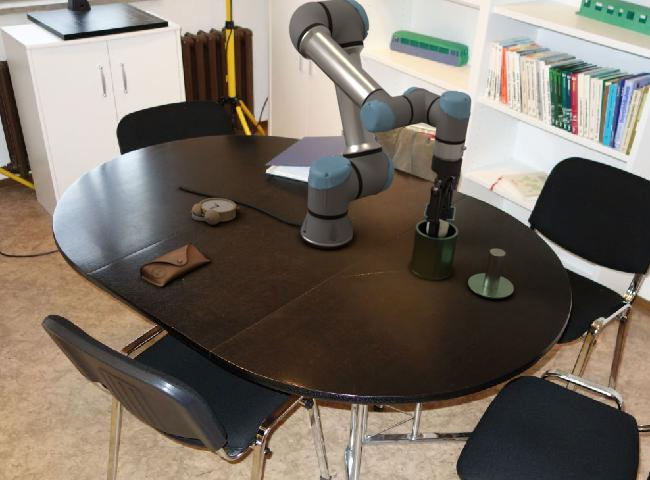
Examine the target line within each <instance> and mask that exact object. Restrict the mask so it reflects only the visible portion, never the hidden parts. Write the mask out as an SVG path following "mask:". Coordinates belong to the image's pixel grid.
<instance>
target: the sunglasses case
mask: <svg viewBox="0 0 650 480" xmlns="http://www.w3.org/2000/svg"><path fill="white" fill-rule="evenodd" d="M209 262H211V260H210V259H208V258H207V257H205V255H204V254H203V253H201V252H200V251H199V249H197V248H196V246H194V244H193V243H192V242H189V243H188V244H186V245H184V246H181V247H179V248H177V249H174V250H172V251H170V252H168V253H166V254H164V255H162V256H159V257H158V258H156V259H154V260H152V261H149V262H146V263H144V264H143V265H142V266H140V268H139V275H140V277H141V278H142V279H143V280H145V281H146V282H148V283H150V284H152V285H154V286H157V287H165V285H167V284H169V283H170V282H172V281H174V280H176V279H178V278H180V277H182V276H184V275H186V274H187V273H190V272H192V271H194V270H197V269H198V268H200V267H202V266H204V265H206V264H208V263H209Z"/></svg>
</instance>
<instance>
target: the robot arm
mask: <svg viewBox="0 0 650 480" xmlns="http://www.w3.org/2000/svg"><path fill="white" fill-rule="evenodd" d="M369 21H370V20H369V17H368V14H367V11H366V9H365V8H364V7H363V5H362V4H360V3H359V2H358V1H357V0H319V1H308V2H305V3H303V4H301V5H300V6H298V7H297V8H296V9H295V11H294V12H293V13H292V14H291V17H290V19H289V23H288V35H289V38H290V42H291V44H292V45H293V48H294V49H295V50H296V52H297V53H299V55H300V56H301V57H302V58H303V59H304V60H308V61H312V62H313V63H314V64H315V66H317V68H319V69H320V71H322V72H323V74H325V75H326V77H327V78H328V79H329V80H330V81H332V82H333V85H334V89H335V90H334V91H335V95H336V100H337V101H336V102H337V106H338V111H339V116H340V122H341V128H342V131H343V132H342V133H343V136H344V142H345V148H344V150H343V151H342V154H341V155H342V156H341V155H333V156H332V155H326V156H322V157H319V158H317V159H315V160H314V161H313V162H312V163H311V164H310V166H309V170H308V177H307V183H308V186H307V190H308V191H307V213H306V216H305V218H304V220H303V222H302V223H301V222H298V221H291V220H288V219H285V218H284V217H281V216H280V215H277V214H275V213H274V212H271V211H269V210H267V209H264V208H263V207H260V206H257V205H255V204H252V203H249V202H247V201H243V200H239V199H236V198H233V197H232V198H231V197H228V196H222V195H218V194H214V193H209V192H204V191H199V190H196V189H192V188H189V187H186V186H182V185H179V186H178V189H180V190H182V191H187V192H189V193H193V194H197V195H201V196H205V197H208V198H209V197H210V198H222V199H227V200H231V201H233V202H234V203H235V204H240V205H244V206H247V207H250V208H252V209H255V210H258V211H260V212H261V213H264V214H266V215H268V216H271V217H273V218H274V219H276V220H279V221H281V222H283V223H285V224H288V225H293V226H297V227H301V228H300V240H301V241H302V242H303V243H304V244H305V245H307V246H309V247H310V248H313V249H318V250H325V251H326V250H327V251H328V250H329V251H330V250H331V251H332V250H338V249H339V250H340V249H342V248H345V247H347V246H349V245H350V244H351V243H352V242H353V237H354V235H353V234H354V231H353V228H352V226H353V221H354V220H352V219H350V217H349V203H350V202H353V201H357V200H361V199H363V198H367V197H370V196H376V195H378V194H380V193H383V192H385V191H387V190H388V189H389V188H390V187H391V185H392V183H393V181H394V178H395V164H394V161H393V159H392V157H391V156H390V154H389V153H387V152H386V151H383V146H382V144H380V143H379V142H377V141H376V136H375V134H377V133H378V134H379V133H385V132H388V131H393V130H396V129H401V128H405V127H410V126H415V125H418V124H425V125H428V126H430V127H432V128H435V136H434V141H433V147H432V148H433V149H432V157H431V158H432V159H431V166H430V170H431V171H432V172H433V173H435V174H436V177H435V178H434V181H433V185H432V186H430V196H429V201H428V203H429V209H428V216H427V218H426V220H427V222H429V228H428V235H427V236H430V237H434V238H438V234H439V228H440V221H439V220H440V219H441V220H443V221H446V222H447V215H448V213H447V212H450V213H451V211H452V209H450V208H449V207H452V206H453V204H452V203H453V198H454V190H455V185H456V184H455V183H456V179H457V175H459V174H460V173H461V171H462V167H463V161H464V159H463V157H464V153H465V151H467V146H465V144H466V140H467V133H468V128H469V123H470V118H471V115H472V112H471V110H472V97H471V96H470V95H469V94H468V93H466V92H463V91H458V90H445V91H444V92H441V94H440V95H439V94H437V93H435V92H432V91H429V90H428V89H426V88H422V87H418V86H411V87H408V88H407V89H406V90H405V91H404V92H403V93H402V94H401V95H395V96H392V95H391V94H390V93H389V92H388V91H386V90H385V88H383V87H382V85H380V84H379V83H378V82H377V81H376V80H375V79H374V78H373V77H372V76H371V75H370V74H369V73H368V72H367V71H366V70H365V69H364V68H363V64H362V63H363V62H362V58H361V53H362V51H363V50H364V48H365V45H364V41H365V40H366V39H367V37H368V35H369V32H368V31H369V30H370V22H369Z"/></svg>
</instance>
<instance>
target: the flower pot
mask: <svg viewBox="0 0 650 480" xmlns="http://www.w3.org/2000/svg"><path fill="white" fill-rule="evenodd" d="M449 208H450V209H452V211H451V213H450V212H447V213H448V215H447V222H449V223H451V224H453V225H454V223H455V222H454V221H455V216H456V212H457V211H456V210H457V208H456V207H455V206H451V207H449ZM428 209H429V202H428V203H426V204H425V207H424V213H423V220H426V218H427V216H428Z"/></svg>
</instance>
